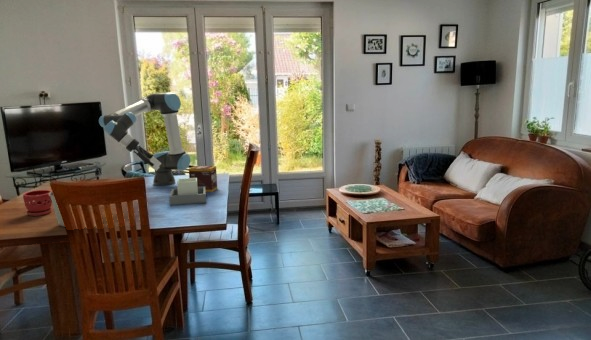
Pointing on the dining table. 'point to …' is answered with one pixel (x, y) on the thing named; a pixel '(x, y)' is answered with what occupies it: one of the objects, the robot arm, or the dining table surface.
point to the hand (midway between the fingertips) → (159, 167)
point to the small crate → (187, 186)
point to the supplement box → (204, 177)
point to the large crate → (187, 197)
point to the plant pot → (38, 202)
